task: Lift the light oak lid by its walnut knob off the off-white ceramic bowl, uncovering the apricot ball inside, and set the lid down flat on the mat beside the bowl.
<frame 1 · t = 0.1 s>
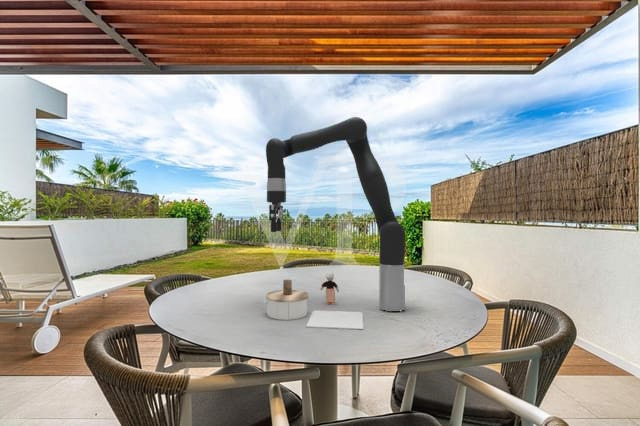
hand: (276, 231, 135), 29 cm above the table, tool pointing down, fingers open, 8 cm apart
apricot ball: (287, 305, 123), point 3 cm above the table, touching bowl
grandmother figurine: (329, 304, 138), on the table
mat: (336, 319, 116), on the table
bowl: (287, 313, 123), on the table
lid: (287, 297, 123), point 6 cm above the table, touching bowl
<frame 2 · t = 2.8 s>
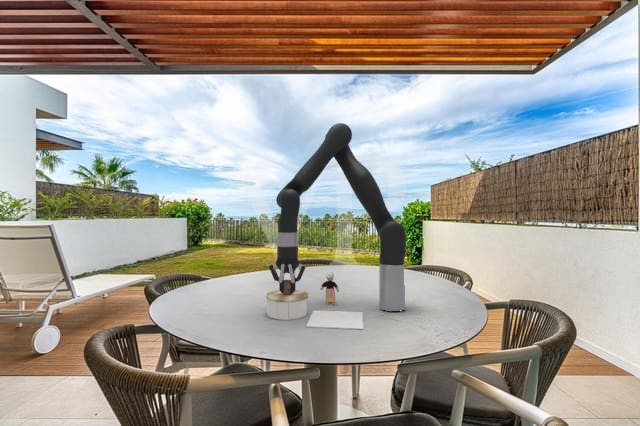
hand: (287, 292, 123), 8 cm above the table, tool pointing down, fingers closed on lid, 3 cm apart
lid: (287, 297, 123), point 6 cm above the table, touching bowl, gripper
everything else where it was.
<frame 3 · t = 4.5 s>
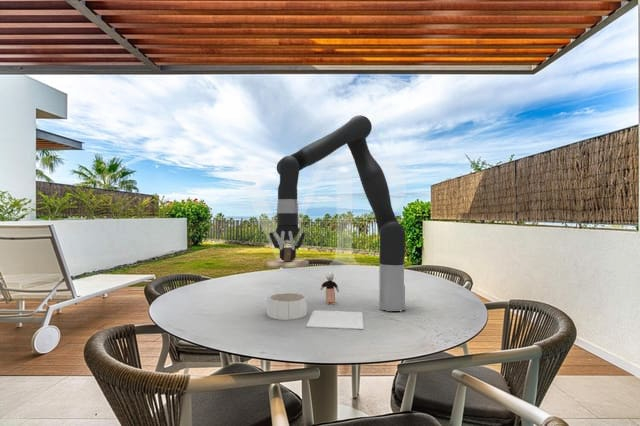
hand: (287, 259, 123), 19 cm above the table, tool pointing down, fingers closed on lid, 3 cm apart
lid: (287, 264, 123), point 18 cm above the table, touching gripper
everything else where it was.
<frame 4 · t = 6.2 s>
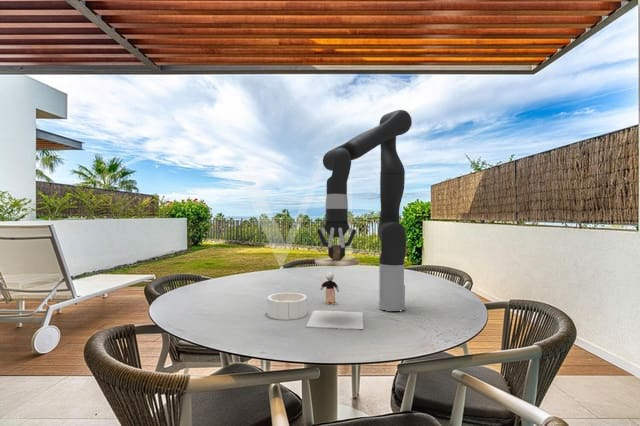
hand: (336, 258, 117), 21 cm above the table, tool pointing down, fingers closed on lid, 3 cm apart
lid: (336, 262, 117), point 19 cm above the table, touching gripper
everything else where it was.
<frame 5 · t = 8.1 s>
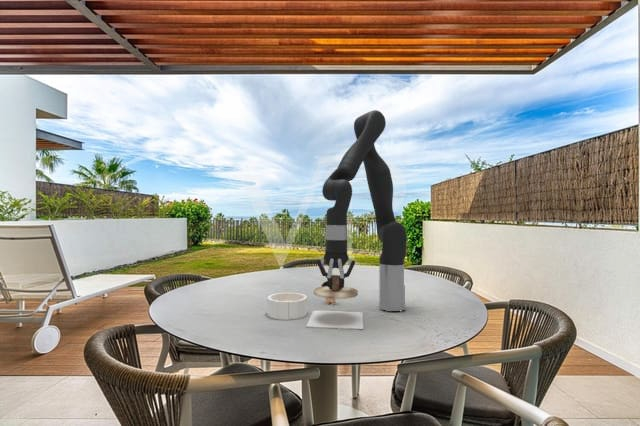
hand: (335, 288, 117), 11 cm above the table, tool pointing down, fingers closed on lid, 3 cm apart
lid: (335, 293, 117), point 9 cm above the table, touching gripper
everything else where it was.
when the fingers open (4 cm above the table, at t = 9.7 s): lid drops 2 cm, resting on mat.
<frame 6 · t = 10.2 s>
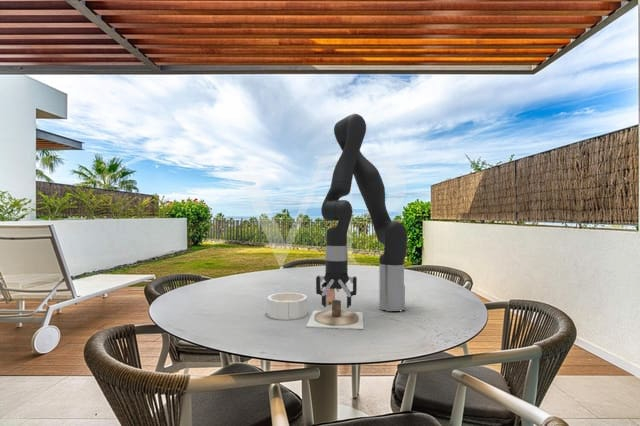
hand: (336, 306, 116), 4 cm above the table, tool pointing down, fingers open, 7 cm apart
lid: (336, 318, 116), resting on mat
everything else where it was.
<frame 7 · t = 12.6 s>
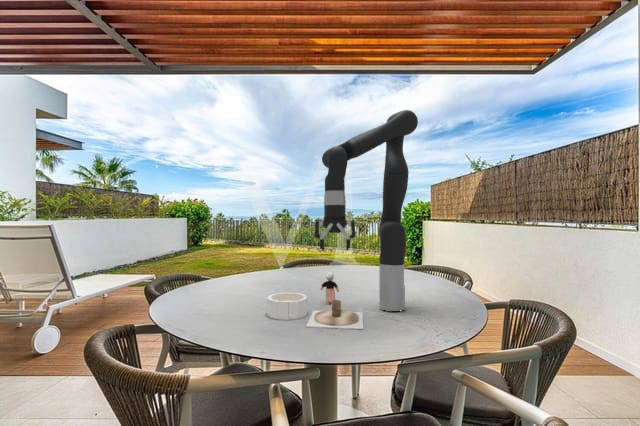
hand: (335, 250, 121), 23 cm above the table, tool pointing down, fingers open, 8 cm apart
nothing on the table moved.
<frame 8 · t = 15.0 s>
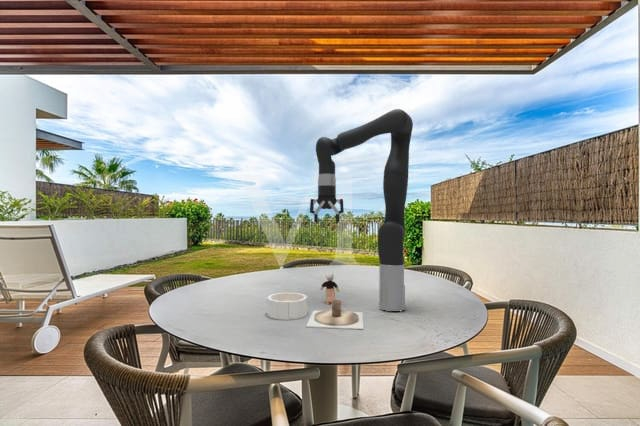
hand: (326, 223, 145), 32 cm above the table, tool pointing down, fingers open, 8 cm apart
nothing on the table moved.
at the end: lid inside the target area on the mat (0.0 cm from its centre), point 0.4 cm above the mat's base; lid touching mat; lid tilted 0° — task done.
